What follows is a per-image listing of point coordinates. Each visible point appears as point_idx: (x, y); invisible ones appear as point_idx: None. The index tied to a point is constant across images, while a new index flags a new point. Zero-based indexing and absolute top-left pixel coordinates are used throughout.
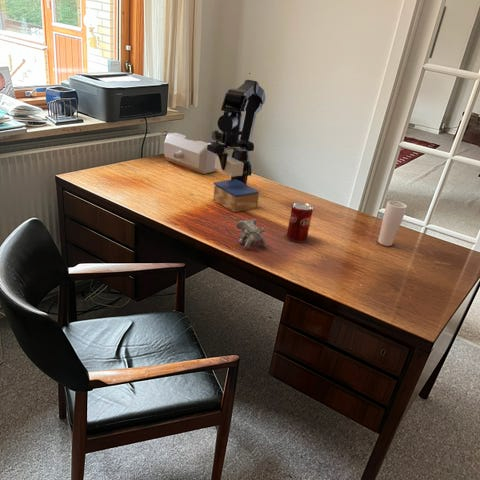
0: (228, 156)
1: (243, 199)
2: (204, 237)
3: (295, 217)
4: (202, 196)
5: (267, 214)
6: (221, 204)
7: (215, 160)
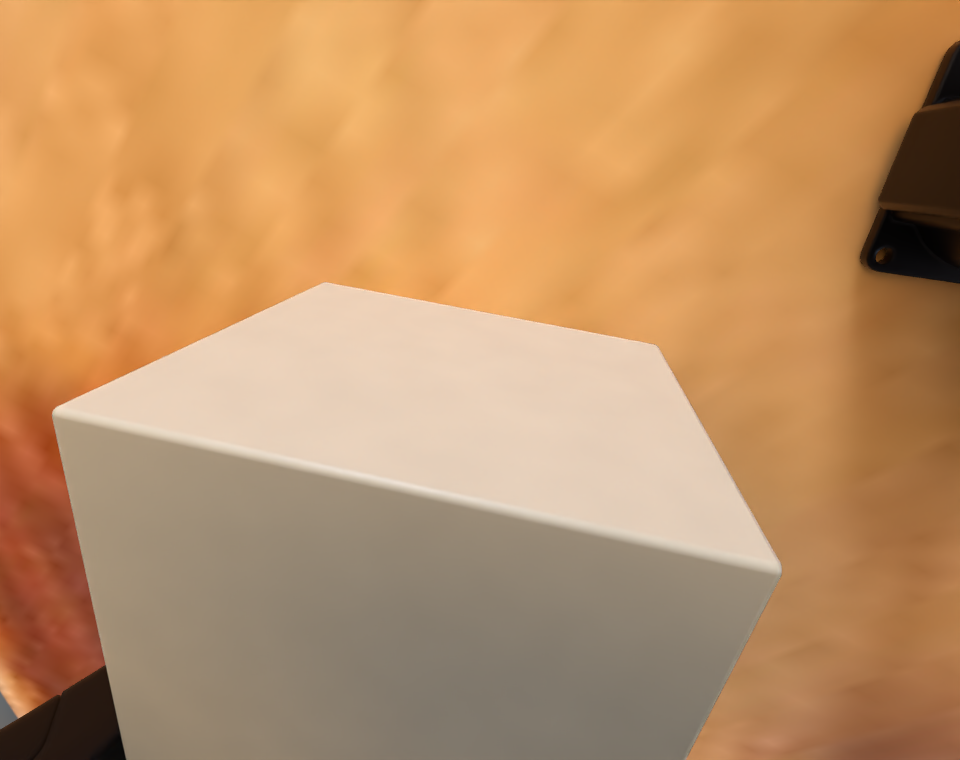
0: (607, 733)
1: None
2: (12, 654)
3: None
4: (335, 187)
5: None
6: None
7: (204, 338)
